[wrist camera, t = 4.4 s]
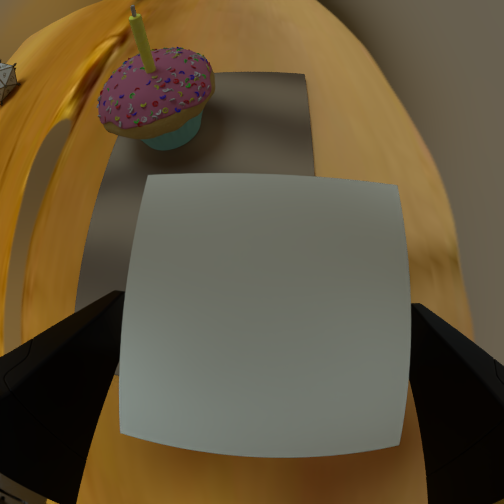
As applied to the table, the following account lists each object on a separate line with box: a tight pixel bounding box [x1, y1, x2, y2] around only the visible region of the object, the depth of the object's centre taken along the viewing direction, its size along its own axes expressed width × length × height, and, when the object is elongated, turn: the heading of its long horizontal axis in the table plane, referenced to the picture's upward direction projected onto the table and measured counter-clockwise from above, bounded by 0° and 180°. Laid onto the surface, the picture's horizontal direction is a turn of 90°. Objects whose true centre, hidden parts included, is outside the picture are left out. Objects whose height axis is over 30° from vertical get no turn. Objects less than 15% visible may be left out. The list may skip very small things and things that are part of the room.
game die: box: [0, 60, 21, 105], centre depth 24 cm, size 9×8×10 cm
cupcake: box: [97, 5, 215, 150], centre depth 14 cm, size 9×8×12 cm
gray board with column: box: [75, 72, 411, 458], centre depth 12 cm, size 26×16×13 cm, turn 177°
